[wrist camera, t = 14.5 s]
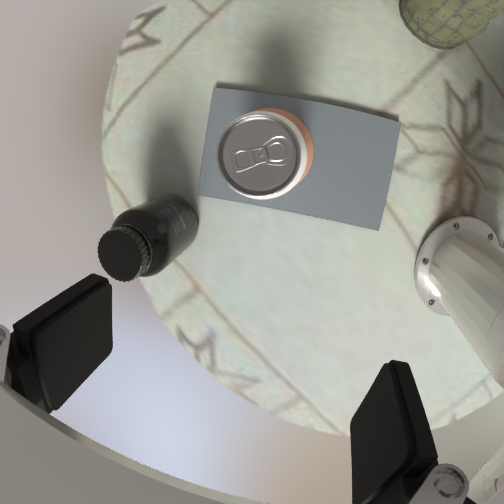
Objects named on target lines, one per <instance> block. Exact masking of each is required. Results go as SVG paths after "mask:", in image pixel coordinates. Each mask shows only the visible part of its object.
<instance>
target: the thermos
mask: <svg viewBox="0 0 504 504" xmlns="http://www.w3.org/2000/svg"><path fill="white" fill-rule="evenodd" d="M399 9H400V15H401V17H402V19H403V21H404V23H405V25H406V27H407V28H408V29H409V30H410V31H411V32H412V34H413V35H414V36H416V37H417V38H418V39H420V40H421V41H422V42H424V43H426V44H428V45H430V46H432V47H434V48H439V49H451V48H454V47H455V46H457V45H459V44H462V43H464V42H466V41H468V40H469V39H471V38H473V37H474V36H476V35H477V34H479V33H481V32H482V31H484V30H485V29H486V27H487V25H488V23H489V21H490V20H491V19H493V18H495V17H496V16H498V15H499V14H501V13H503V12H504V0H400V4H399Z"/></svg>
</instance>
